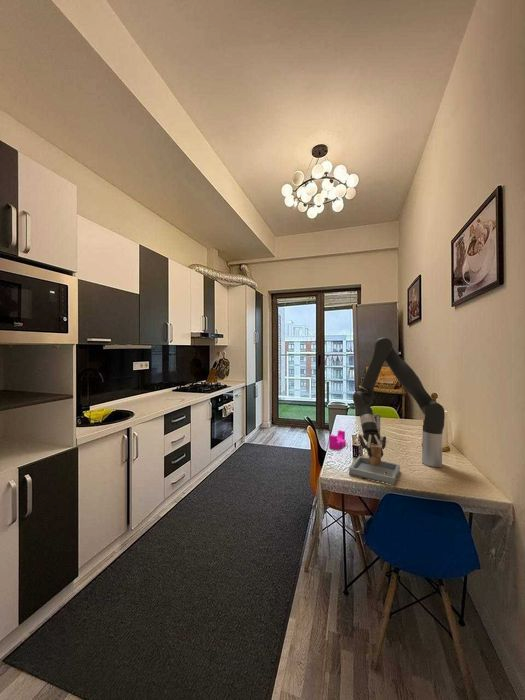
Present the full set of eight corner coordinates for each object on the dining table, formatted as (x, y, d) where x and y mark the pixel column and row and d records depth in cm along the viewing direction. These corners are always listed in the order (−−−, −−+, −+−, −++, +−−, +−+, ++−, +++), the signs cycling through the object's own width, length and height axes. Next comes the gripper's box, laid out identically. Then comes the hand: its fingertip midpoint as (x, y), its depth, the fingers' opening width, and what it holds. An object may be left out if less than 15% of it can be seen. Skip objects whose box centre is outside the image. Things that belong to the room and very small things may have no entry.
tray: (399, 471, 145) (399, 464, 145) (394, 486, 130) (394, 478, 130) (358, 462, 156) (358, 456, 156) (349, 475, 140) (349, 467, 140)
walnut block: (377, 462, 145) (378, 444, 145) (380, 465, 140) (381, 447, 140) (368, 461, 145) (369, 443, 145) (371, 465, 141) (371, 446, 140)
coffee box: (380, 439, 195) (380, 415, 195) (376, 441, 191) (376, 416, 190) (367, 436, 202) (367, 412, 201) (363, 438, 197) (363, 414, 197)
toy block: (338, 450, 174) (338, 437, 174) (329, 447, 178) (329, 435, 178) (348, 443, 186) (348, 432, 186) (339, 441, 190) (339, 430, 190)
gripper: (356, 420, 150) (363, 452, 138) (384, 421, 149) (393, 453, 138) (353, 428, 155) (359, 459, 144) (380, 428, 155) (388, 460, 143)
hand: (376, 456), depth 141 cm, fingers closed on walnut block, 4 cm apart
